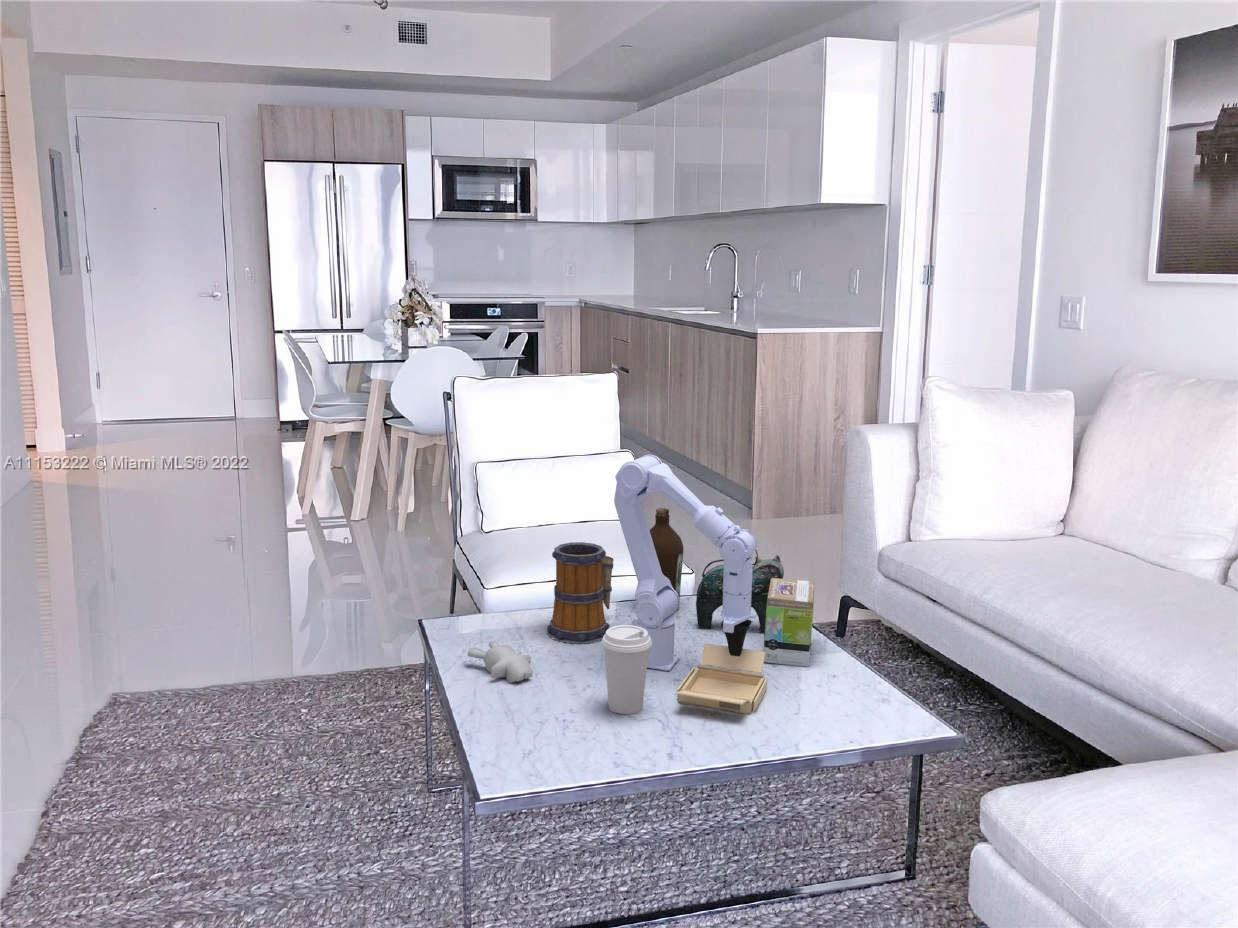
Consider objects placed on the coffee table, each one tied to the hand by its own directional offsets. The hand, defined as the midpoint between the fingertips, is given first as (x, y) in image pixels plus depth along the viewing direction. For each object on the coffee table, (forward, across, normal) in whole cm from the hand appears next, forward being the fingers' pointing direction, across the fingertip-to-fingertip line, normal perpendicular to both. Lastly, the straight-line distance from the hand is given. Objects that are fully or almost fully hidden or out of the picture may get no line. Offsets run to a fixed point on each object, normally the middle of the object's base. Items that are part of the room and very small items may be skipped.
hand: (735, 655), depth 203 cm
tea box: (+5, +18, -7) cm, 21 cm away
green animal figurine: (+5, +28, +6) cm, 29 cm away
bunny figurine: (+5, -15, +46) cm, 48 cm away
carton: (+5, -9, 0) cm, 10 cm away
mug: (+5, +14, +39) cm, 42 cm away
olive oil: (+4, +35, +27) cm, 45 cm away
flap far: (+3, -2, 0) cm, 4 cm away
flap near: (+3, -15, 0) cm, 15 cm away
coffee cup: (+5, -21, +16) cm, 27 cm away
